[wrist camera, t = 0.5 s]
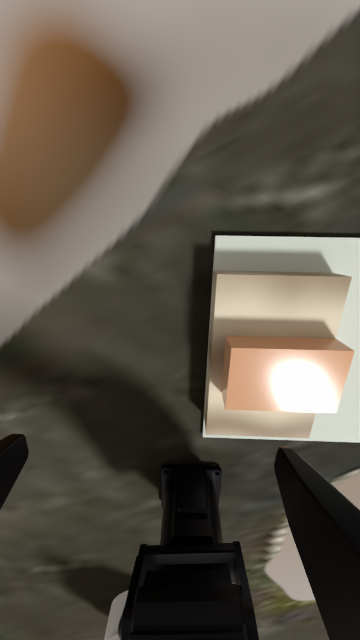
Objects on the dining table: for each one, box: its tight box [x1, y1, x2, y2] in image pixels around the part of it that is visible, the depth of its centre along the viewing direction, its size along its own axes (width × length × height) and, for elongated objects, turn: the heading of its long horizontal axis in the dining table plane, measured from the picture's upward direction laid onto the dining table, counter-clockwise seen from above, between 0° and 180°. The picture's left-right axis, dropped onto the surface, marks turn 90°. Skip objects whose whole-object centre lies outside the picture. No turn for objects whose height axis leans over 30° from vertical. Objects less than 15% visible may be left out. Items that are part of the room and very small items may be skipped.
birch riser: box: [204, 270, 352, 438], centre depth 19 cm, size 14×9×2 cm, turn 179°
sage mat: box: [203, 236, 360, 442], centre depth 20 cm, size 19×19×1 cm
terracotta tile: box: [221, 336, 355, 413], centre depth 16 cm, size 5×8×2 cm, turn 89°
